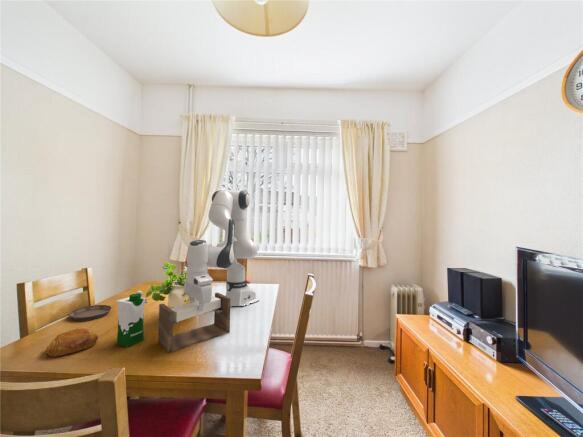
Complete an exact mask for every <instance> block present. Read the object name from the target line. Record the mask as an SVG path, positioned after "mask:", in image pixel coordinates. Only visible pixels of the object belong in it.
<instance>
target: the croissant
mask: <svg viewBox="0 0 583 437" xmlns="http://www.w3.org/2000/svg"><path fill="white" fill-rule="evenodd" d="M98 340H99V334H98V333H97V332H94V331H91V330H89V329H86V328H76V329H71V330H70V329H69V330H68V331H65V332H62V333H59V334H58V335H56V337H55V338H54V339H53V340H51V342H50V343H49V344H48V345H47V346H46V349H45V354H46V355H48V356H49V357H53V358H55V357H60V356H64V355H69V354H73V353H76V352H79V351H83V350H86V349H88V348H91V347H92V346H94V345H96V344H97V341H98Z"/></svg>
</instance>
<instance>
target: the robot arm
mask: <svg viewBox="0 0 583 437" xmlns="http://www.w3.org/2000/svg"><path fill="white" fill-rule="evenodd" d="M250 202H251V198H250V194H249V193H248V191H246V190H238V189H237V190H236V189H229V190H228V189H227V190H225V189H224V190H221V189H220V190H216V191H214V192H213V193H212V196H211V204H210V208H209V211H208V220H209V221H210V223H212V224H213V225H214V226H215V227H218V228H219V229H222V230H224V238H223V239H224V240H223V241H219V242H218V243H217V245H216V246H214V245H213V246H212V245H208V241H206V240H204V239H196V240H192V241H191V242H189V244H188V247H187V254H186V263H187V268H186V278H185V280H184V285H183V292H184V295H186V296H188V300H189V303H192V302H195V301H199V306H198V311H203V306H204V304H205V303H209V302H210V301H211V297H213V294H212V293H213V287H212V284H213V280H214V279H213V277H211V275H210V274H209V268H208V267H210V268H220V269H226V281H225V290H226V291H225V296H227V297H229V298H231V299H230V307H232V306H244V304H245V305H247V304H249V302H250V301H252V300H254V299H256V297H257V296H256V291H255V290H254V289H253V288H252V287H250V286H249V285H250V283H251V281H250V280H247V279H246V268H245V266H244V265H243V264H241V263H240V262H238V259H245V260H247V259H253V258H254V257H256V255H257V253H258V246H257V244H256V243H255V242H254V241H253V240H251V238H250V236H249V234H248V233H247V225H246V224H247V223H246V221H247V220H246V219H247V218H246V209H247V208H248V207H249V206H250ZM235 239H236V240H235ZM247 306H248V305H247Z"/></svg>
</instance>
